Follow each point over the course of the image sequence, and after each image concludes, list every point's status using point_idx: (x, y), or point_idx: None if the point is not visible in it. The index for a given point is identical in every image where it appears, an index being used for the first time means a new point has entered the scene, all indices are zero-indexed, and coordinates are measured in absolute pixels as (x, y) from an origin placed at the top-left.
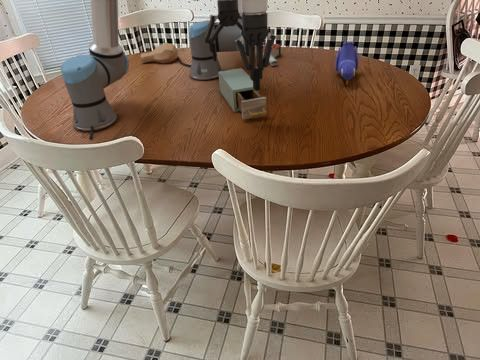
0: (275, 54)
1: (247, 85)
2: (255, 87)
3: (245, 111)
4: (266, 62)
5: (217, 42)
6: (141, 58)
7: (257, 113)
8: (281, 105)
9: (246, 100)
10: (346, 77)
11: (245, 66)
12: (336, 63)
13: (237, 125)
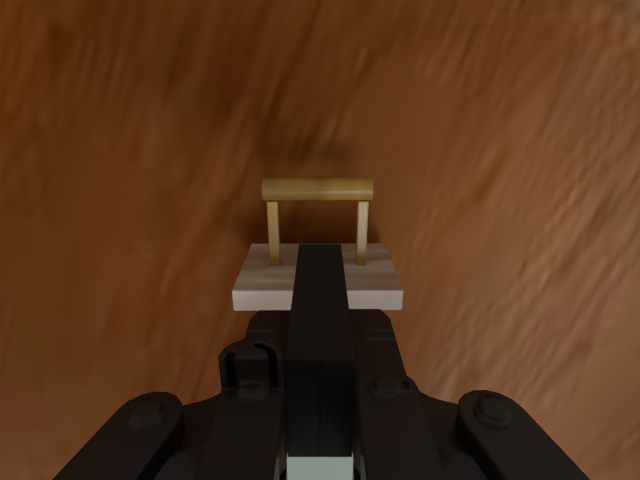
0: None
1: (296, 469)
2: (342, 262)
3: (374, 260)
4: (120, 460)
5: None
6: None
7: (328, 183)
8: (138, 330)
9: (367, 302)
10: None
11: (556, 448)
12: None
13: (423, 213)
